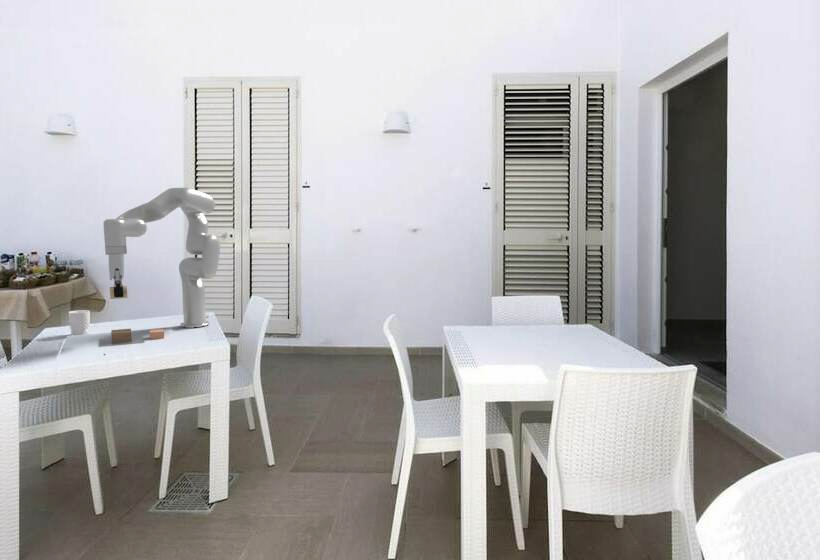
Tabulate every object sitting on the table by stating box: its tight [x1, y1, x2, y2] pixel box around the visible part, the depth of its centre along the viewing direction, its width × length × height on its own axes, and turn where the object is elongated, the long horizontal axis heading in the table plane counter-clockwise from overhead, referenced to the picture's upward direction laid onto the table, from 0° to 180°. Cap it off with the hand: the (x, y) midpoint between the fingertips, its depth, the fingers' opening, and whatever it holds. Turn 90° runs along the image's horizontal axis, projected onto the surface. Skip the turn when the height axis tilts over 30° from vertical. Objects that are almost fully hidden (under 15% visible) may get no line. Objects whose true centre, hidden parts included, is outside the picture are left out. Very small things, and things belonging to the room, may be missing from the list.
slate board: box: [98, 334, 145, 348], centre depth 226 cm, size 16×16×1 cm
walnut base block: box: [110, 328, 132, 343], centre depth 226 cm, size 7×7×4 cm
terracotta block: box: [149, 328, 165, 340], centre depth 232 cm, size 5×5×4 cm
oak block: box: [109, 285, 129, 300], centre depth 224 cm, size 6×6×4 cm
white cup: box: [68, 309, 91, 336], centre depth 242 cm, size 8×8×10 cm
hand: (118, 295), depth 224 cm, fingers closed on oak block, 6 cm apart
